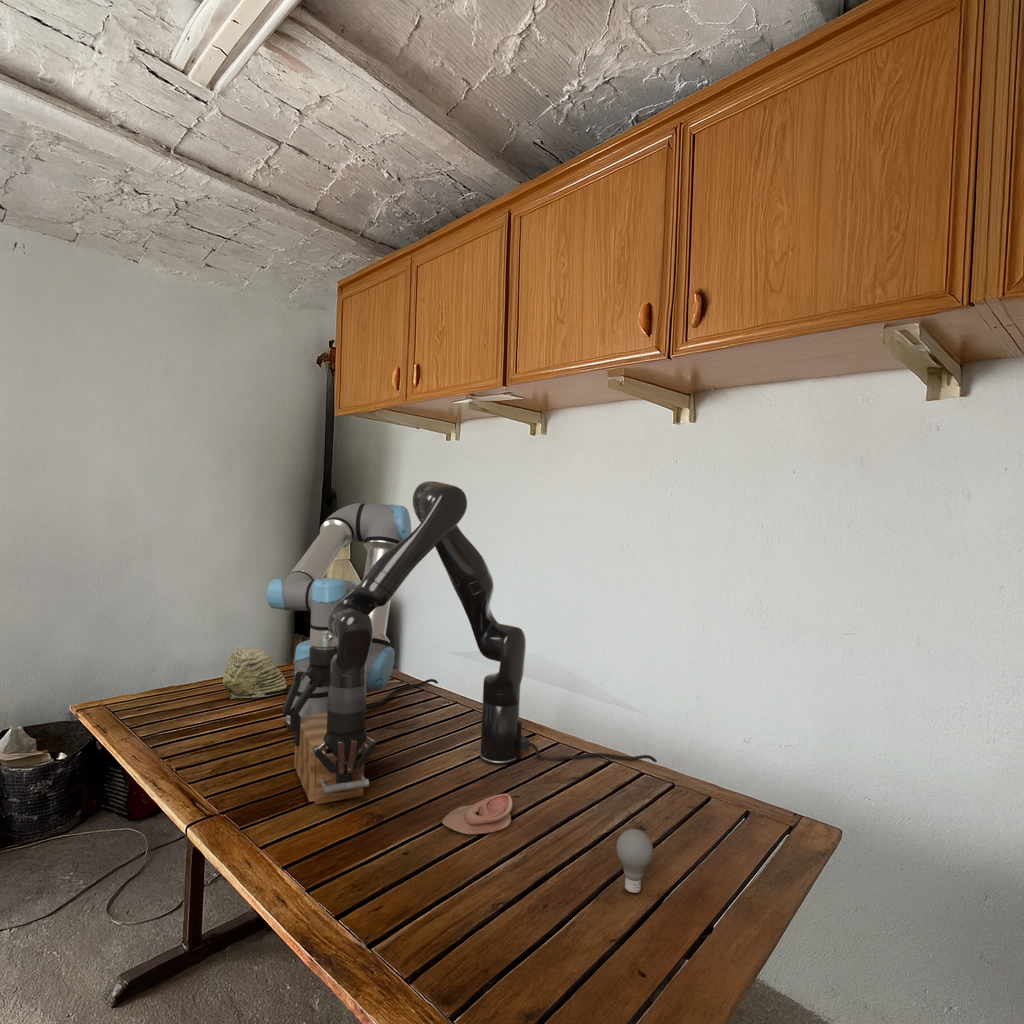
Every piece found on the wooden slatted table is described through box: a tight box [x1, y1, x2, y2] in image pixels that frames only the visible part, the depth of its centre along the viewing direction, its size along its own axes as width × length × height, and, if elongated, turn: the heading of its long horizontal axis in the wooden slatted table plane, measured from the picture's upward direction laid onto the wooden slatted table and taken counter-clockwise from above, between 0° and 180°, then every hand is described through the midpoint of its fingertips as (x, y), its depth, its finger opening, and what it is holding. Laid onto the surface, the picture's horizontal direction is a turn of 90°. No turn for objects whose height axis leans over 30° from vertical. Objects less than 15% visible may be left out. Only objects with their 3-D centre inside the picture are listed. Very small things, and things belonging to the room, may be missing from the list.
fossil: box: [222, 646, 288, 699], centre depth 198 cm, size 9×18×15 cm, turn 132°
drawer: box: [314, 749, 370, 805], centre depth 136 cm, size 23×10×10 cm, turn 28°
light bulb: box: [615, 828, 654, 894], centre depth 106 cm, size 6×6×10 cm
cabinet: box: [293, 713, 363, 803], centre depth 142 cm, size 19×11×12 cm, turn 28°
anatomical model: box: [441, 793, 513, 835], centre depth 126 cm, size 13×4×12 cm
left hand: (322, 740), depth 147 cm, fingers closed on cabinet, 11 cm apart
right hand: (343, 789), depth 128 cm, fingers closed
